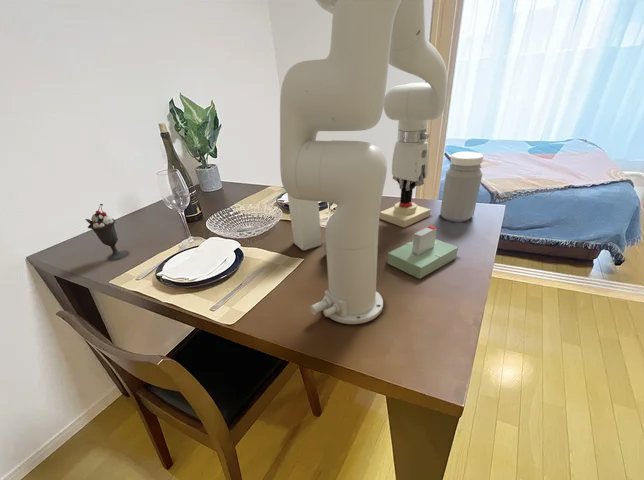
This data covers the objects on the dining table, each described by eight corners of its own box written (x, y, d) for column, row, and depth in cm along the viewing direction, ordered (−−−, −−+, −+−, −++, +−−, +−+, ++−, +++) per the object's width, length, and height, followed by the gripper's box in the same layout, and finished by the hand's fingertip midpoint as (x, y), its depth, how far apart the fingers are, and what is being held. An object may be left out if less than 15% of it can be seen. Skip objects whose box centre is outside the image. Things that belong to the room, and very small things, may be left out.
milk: (303, 251, 90) (293, 168, 77) (293, 243, 95) (282, 163, 82) (322, 245, 93) (315, 163, 79) (312, 237, 97) (304, 158, 84)
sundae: (135, 251, 98) (112, 201, 89) (118, 262, 92) (93, 211, 84) (117, 249, 99) (93, 201, 90) (99, 260, 94) (73, 210, 85)
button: (406, 210, 100) (406, 204, 99) (396, 207, 103) (397, 202, 102) (413, 207, 102) (414, 201, 101) (404, 204, 104) (405, 199, 103)
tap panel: (420, 279, 75) (421, 267, 73) (386, 263, 82) (387, 252, 80) (456, 258, 82) (458, 246, 80) (423, 244, 89) (424, 234, 87)
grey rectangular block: (418, 255, 78) (420, 235, 75) (411, 252, 79) (413, 232, 76) (434, 247, 81) (437, 227, 78) (427, 244, 82) (430, 224, 79)
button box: (404, 227, 98) (405, 214, 96) (379, 218, 105) (380, 206, 102) (429, 216, 104) (431, 203, 101) (404, 208, 110) (405, 196, 108)
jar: (469, 224, 96) (483, 160, 86) (435, 220, 101) (444, 158, 90) (475, 213, 103) (489, 151, 92) (443, 209, 107) (452, 149, 97)
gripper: (443, 136, 87) (433, 204, 98) (399, 131, 97) (395, 193, 108) (425, 141, 84) (417, 211, 94) (382, 136, 94) (379, 199, 104)
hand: (405, 201), depth 101 cm, fingers closed
